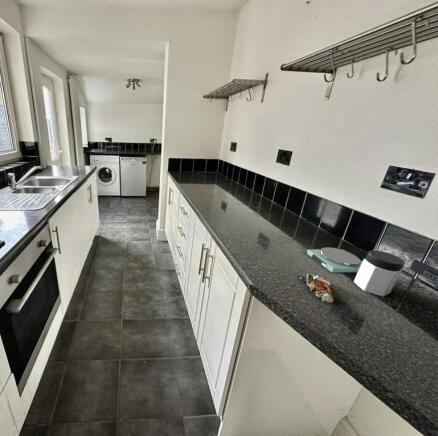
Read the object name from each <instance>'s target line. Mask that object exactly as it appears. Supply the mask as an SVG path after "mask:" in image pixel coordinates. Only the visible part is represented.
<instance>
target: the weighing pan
mask: <svg viewBox="0 0 438 436" xmlns="http://www.w3.org/2000/svg"><path fill="white" fill-rule="evenodd" d="M319 250H320V253H321V255H322V256H323V257H325V258H326V259H328V260H330V261H333V262H335V263H338V264H342V265H347V266H357V265H359V264H360V260H361V259H360V258H359V257H358V256H357V255H355V254H353V253H351V252H349V251H347V250H345V249H340V248H336V247H330V246H329V247H327V246H326V247H322V248H320V249H319Z"/></svg>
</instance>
